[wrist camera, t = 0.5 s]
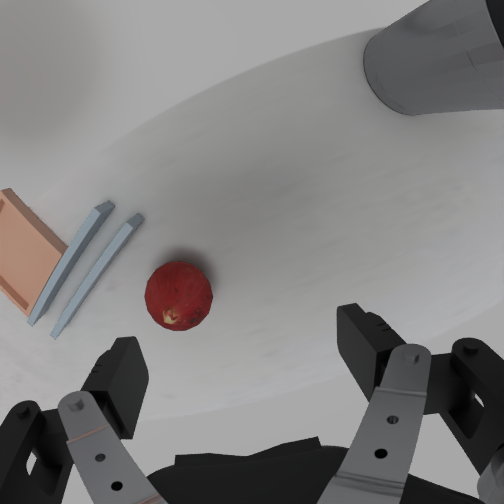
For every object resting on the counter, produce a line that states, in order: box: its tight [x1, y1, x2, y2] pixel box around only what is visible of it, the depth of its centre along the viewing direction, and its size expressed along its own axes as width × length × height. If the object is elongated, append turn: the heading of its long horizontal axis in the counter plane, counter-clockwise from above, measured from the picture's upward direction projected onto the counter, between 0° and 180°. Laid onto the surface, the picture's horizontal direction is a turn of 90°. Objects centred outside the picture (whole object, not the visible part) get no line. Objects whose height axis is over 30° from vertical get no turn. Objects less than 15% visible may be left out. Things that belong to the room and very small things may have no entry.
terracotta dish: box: [0, 188, 68, 317], centre depth 27 cm, size 10×10×2 cm
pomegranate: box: [144, 261, 213, 331], centre depth 26 cm, size 6×6×8 cm
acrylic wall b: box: [27, 201, 115, 326], centre depth 27 cm, size 16×1×4 cm, turn 136°
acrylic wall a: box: [50, 214, 144, 340], centre depth 28 cm, size 16×1×4 cm, turn 136°
